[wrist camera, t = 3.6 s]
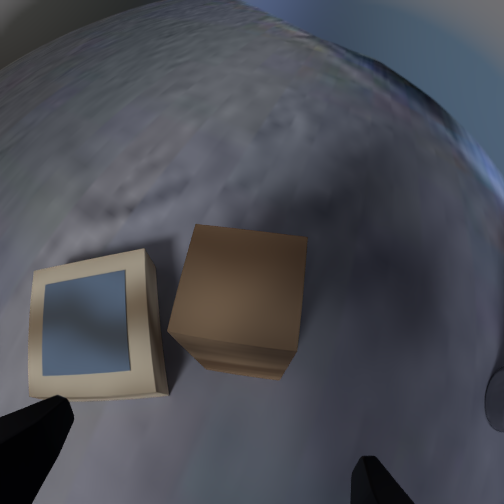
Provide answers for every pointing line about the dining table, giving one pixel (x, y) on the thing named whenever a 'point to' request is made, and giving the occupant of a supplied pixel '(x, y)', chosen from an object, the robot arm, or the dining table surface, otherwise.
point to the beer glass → (496, 400)
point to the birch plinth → (96, 330)
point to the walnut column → (240, 300)
